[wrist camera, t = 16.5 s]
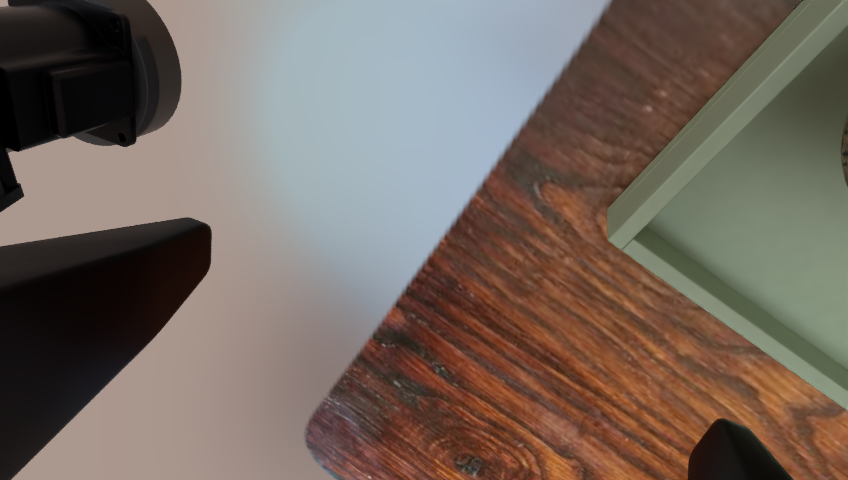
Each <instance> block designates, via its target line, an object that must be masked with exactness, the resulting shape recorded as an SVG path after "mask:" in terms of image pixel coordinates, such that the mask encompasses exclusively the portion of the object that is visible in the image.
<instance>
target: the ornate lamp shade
mask: <svg viewBox="0 0 848 480" xmlns="http://www.w3.org/2000/svg"><path fill="white" fill-rule="evenodd" d="M841 162H842V169H843V173H844V178H845V182H846V184H847V187H848V115H847V118H846V121H845V123H844V128H843V133H842V138H841Z"/></svg>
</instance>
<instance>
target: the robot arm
mask: <svg viewBox="0 0 848 480" xmlns="http://www.w3.org/2000/svg"><path fill="white" fill-rule="evenodd" d="M8 5H9V6H6V7H0V212H1V211H3V210H4V209H6V208H7V207H9V206H10V205H12V204H13V203H15V202H16V201H18V200H19V199H21V198H22V197H24V194H23V190H22V187H21V184H19V183H17V180H16V177H15V174H14V171H13V168H12V164H11V161H10V158H9V155H8V153H9V152H12V151H17V152H19V151H22V150H25V149H29V148H32V147H35V146H38V145H41V144H44V143H48V142H51V141H54V140H57V139H60V138H68V137H71V136H74V135H77V134H81V133H87V134H89V135H92V136H95V137H98V138H100V139H103V140H106V141H109V142H112V143H114V144H117V145H120V146H123V147H127V146H130V145H133V144H135V142H136V118H135V98H134V79H133V59H132V39H131V25H130V21H129V19H128V17H127V16H126V15H125V14H123V13H121V12H119V11H116V10H113V9H109V8H106V7H103V6H100V5H97V4H94V3H91V2H87V1H84V0H8ZM117 21H118V22H119V25H120V27H119V26H118V25H117ZM124 135H125V136H126V138H125V136H124ZM211 239H212V233H211V228H210V226H208V225H207V224H206V223H203V222H200V221H198V220H195V219H192V218H180V219H174V220H167V221H161V222H155V223H148V224H141V225H135V226H129V227H123V228H116V229H110V230H104V231H97V232H90V233H84V234H78V235H72V236H65V237H58V238H53V239H46V240H40V241H33V242H26V243H20V244H14V245H7V246H1V247H0V480H11V479H12V478H13V477H14V476H15V475H16V474H17V473H18V472H19V471H20V470H21V469H22V468H23V467H24V466H25V465H26V464H27V463H28V462H29V461H30V460H31V459H32V458H33V457H34V456H35V455H36V454H38V453H39V451H40V450H42V449H43V448H44V447H45V446H46V444H48V442H50V441H51V439H53V438H54V437H55V436H56V435H57V434H58V433H59V432H60V431H61V430H62V429H63V428H64V427H65V426H66V425H67V424H68V423H69V422H70V421H71V420H72V419H73V418H74V417H75V416H76V415H77V414H78V413H79V412H80V411H81V410H82V409H83V408H84V407H85V406H86V405H87V404H88V403H89V402H90V401H91V400H92V399H93V398H94V397H95V396H96V395H97V394H98V393H99V392H100V391H101V390H102V389H103V388H104V387H105V386H106V385H107V384H108V383H109V382H110V381H111V380H112V379H113V378H114V377H115V376H116V375H117V374H118V373H119V372H120V371H121V370H122V369H123V368H124V367H125V366H126V365H127V364H128V363H129V362H131V361H132V360H133V359H134V357H135V356H137V355H138V354H139V352H141V350H143V349H144V348H145V347H146V346H147V344H148V343H150V341H151V340H152V339H153V338H154V337H155V336H156V335H157V334H158V333H159V332H160V331H161V329H162V328H163V327H164V326H165V325H166V323H167V322H168V321H169V320H170V319H171V317H172V316H173V315H174V314H175V312H176V311H177V310H178V309H179V308H180V306H181V305H182V304H183V303H184V301H185V300H186V299H187V298H188V297H189V295H190V294H191V293H192V291H193V290H194V289H195V288H196V287H197V285H198V284H199V283H200V282H201V281H202V279H203V278H204V277H205V276H206V274H207V272H208V270H209V268H210V264H211ZM688 480H793V479H792V477H791V476H790V475H789V474H788V473H787V472H786V470H785V469H784V468H783V467H782V466H781V465H780V464H779V462H778V461H777V460H776V459H775V458H774V457H773V456H772V454H771V453H770V452H769V451H768V450H767V449H766V448H765V446H764V445H763V444H762V443H761V442H760V441H759V440H758V438H757V437H756V436H755V435H754V434H753V433H752V431H751V430H750V429H748V428H747V427H745V426H743V425H740V424H738V423H735V422H732V421H730V420H727V419H724V418H721V419H717V420H716V421H715V422H714V423H713V424H712V425H711V426H710V428H709V429H708V430H707V432H706V433H705V434H704V436H703V437H702V438H701V440H700V441H699V442H698V444H697V445H696V446H695V448H694V449H693V451H692V453H691V455H690V458H689V464H688Z"/></svg>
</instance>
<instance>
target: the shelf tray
mask: <svg viewBox="0 0 848 480" xmlns="http://www.w3.org/2000/svg"><path fill="white" fill-rule="evenodd" d="M847 115H848V0H803V1H802V2H801V3H800V4H799V5H798V6H797V7H796V8H795V9H794V10H793V11H792V13H791V14H790V15H789V16H788V17H787V18H786V19H785V20H784V21H783V22H782V23H781V24H780V25H779V26H778V27H777V29H776V30H775V31H774V32H773V33H772V34H771V35H770V36H769V37H768V38H767V39H766V40H765V41H764V42H763V43H762V44H761V46H760V47H759V48H758V49H757V50H756V51H755V52H754V53H753V54H752V55H751V56H750V57H749V58H748V59H747V60H746V62H745V63H744V64H743V65H742V66H741V67H740V68H739V69H738V70H737V71H736V72H735V73H734V74H733V75H732V76H731V78H730V79H729V80H728V81H727V82H726V83H725V84H724V85H723V86H722V87H721V88H720V89H719V90H718V91H717V92H716V94H715V95H714V96H713V97H712V98H711V99H710V100H709V101H708V102H707V103H706V104H705V105H704V106H703V107H702V108H701V109H700V111H699V112H698V113H697V114H696V115H695V116H694V117H693V118H692V119H691V120H690V121H689V122H688V123H687V124H686V125H685V127H684V128H683V129H682V130H681V131H680V132H679V133H678V134H677V135H676V136H675V137H674V138H673V139H672V140H671V141H670V143H669V144H668V145H667V146H666V147H665V148H664V149H663V150H662V151H661V152H660V153H659V154H658V155H657V156H656V157H655V158H654V160H653V161H652V162H651V163H650V164H649V165H648V166H647V167H646V168H645V169H644V170H643V171H642V172H641V173H640V174H639V176H638V177H637V178H636V179H635V180H634V181H633V182H632V183H631V184H630V185H629V186H628V187H627V188H626V189H625V190H624V192H623V193H622V194H621V195H620V196H619V197H618V198H617V199H616V200H615V201H614V202H613V203H612V204H611V205H610V206H609V208H608V209H607V232H608V241H609V242H610V243H612V244H613V245H614V246H616V247H617V248H619V249H620V250H621V249H622V251H623V252H624V253H625V254H627V255H628V256H630V257H631V258H633V259H634V260H635V261H637V262H638V263H640V264H641V265H642V266H644V267H645V268H647V269H648V270H649V271H651V272H652V273H654V274H655V275H657V276H658V277H659V278H661V279H662V280H664V281H665V282H666V283H668V284H669V285H671V286H672V287H673V288H675V289H676V290H678V291H679V292H681V293H682V294H683V295H685V296H686V297H688V298H689V299H690V300H692V301H693V302H695V303H696V304H697V305H699V306H700V307H702V308H703V309H704V310H706V311H707V312H709V313H710V314H712V315H713V316H714V317H716V318H717V319H719V320H720V321H721V322H723V323H724V324H726V325H727V326H728V327H730V328H731V329H733V330H734V331H736V332H737V333H738V334H740V335H741V336H743V337H744V338H745V339H747V340H748V341H750V342H751V343H752V344H754V345H755V346H757V347H758V348H760V349H761V350H762V351H764V352H765V353H767V354H768V355H769V356H771V357H772V358H774V359H775V360H776V361H778V362H779V363H781V364H782V365H784V366H785V367H786V368H788V369H789V370H791V371H792V372H793V373H795V374H796V375H798V376H799V377H800V378H802V379H803V380H805V381H806V382H808V383H809V384H810V385H812V386H813V387H815V388H816V389H817V390H819V391H820V392H822V393H823V394H824V395H826V396H827V397H829V398H830V399H831V400H833V401H834V402H836V403H837V404H839V405H840V406H841V407H843V408H844V409H846V410H847V411H848V187H847V184H846V182H845V178H844V173H843V169H842V162H841V138H842V133H843V128H844V123H845V121H846V118H847Z"/></svg>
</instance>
